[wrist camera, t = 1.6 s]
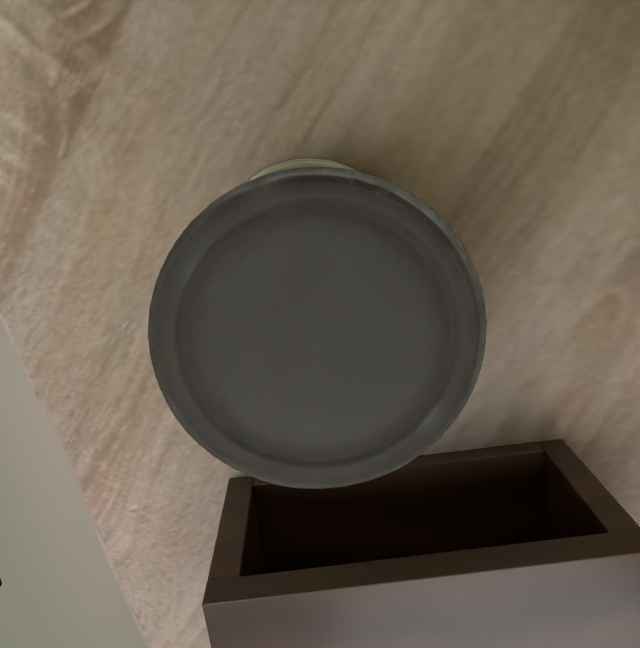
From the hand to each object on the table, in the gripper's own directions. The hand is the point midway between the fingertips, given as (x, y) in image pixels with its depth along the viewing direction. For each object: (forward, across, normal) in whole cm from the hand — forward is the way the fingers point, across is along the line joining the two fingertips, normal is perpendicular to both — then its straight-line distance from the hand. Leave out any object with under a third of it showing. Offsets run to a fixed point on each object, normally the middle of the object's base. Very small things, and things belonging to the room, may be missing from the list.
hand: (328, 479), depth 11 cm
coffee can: (+22, 0, 0) cm, 22 cm away
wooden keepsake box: (+22, +4, -19) cm, 29 cm away
